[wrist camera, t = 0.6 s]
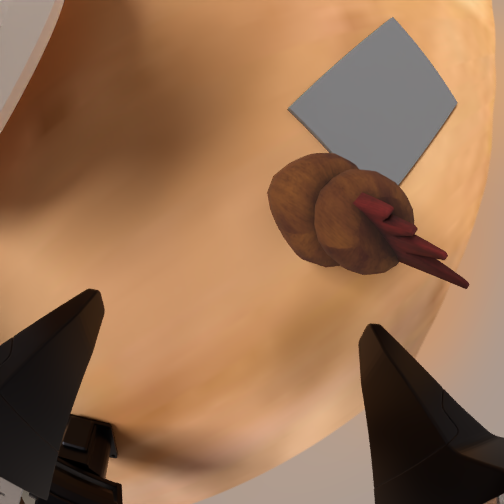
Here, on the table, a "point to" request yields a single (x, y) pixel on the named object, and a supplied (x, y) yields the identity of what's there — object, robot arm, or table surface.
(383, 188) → the wooden figurine
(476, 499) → the robot arm
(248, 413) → the table surface
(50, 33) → the flanged gear
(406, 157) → the felt mat
